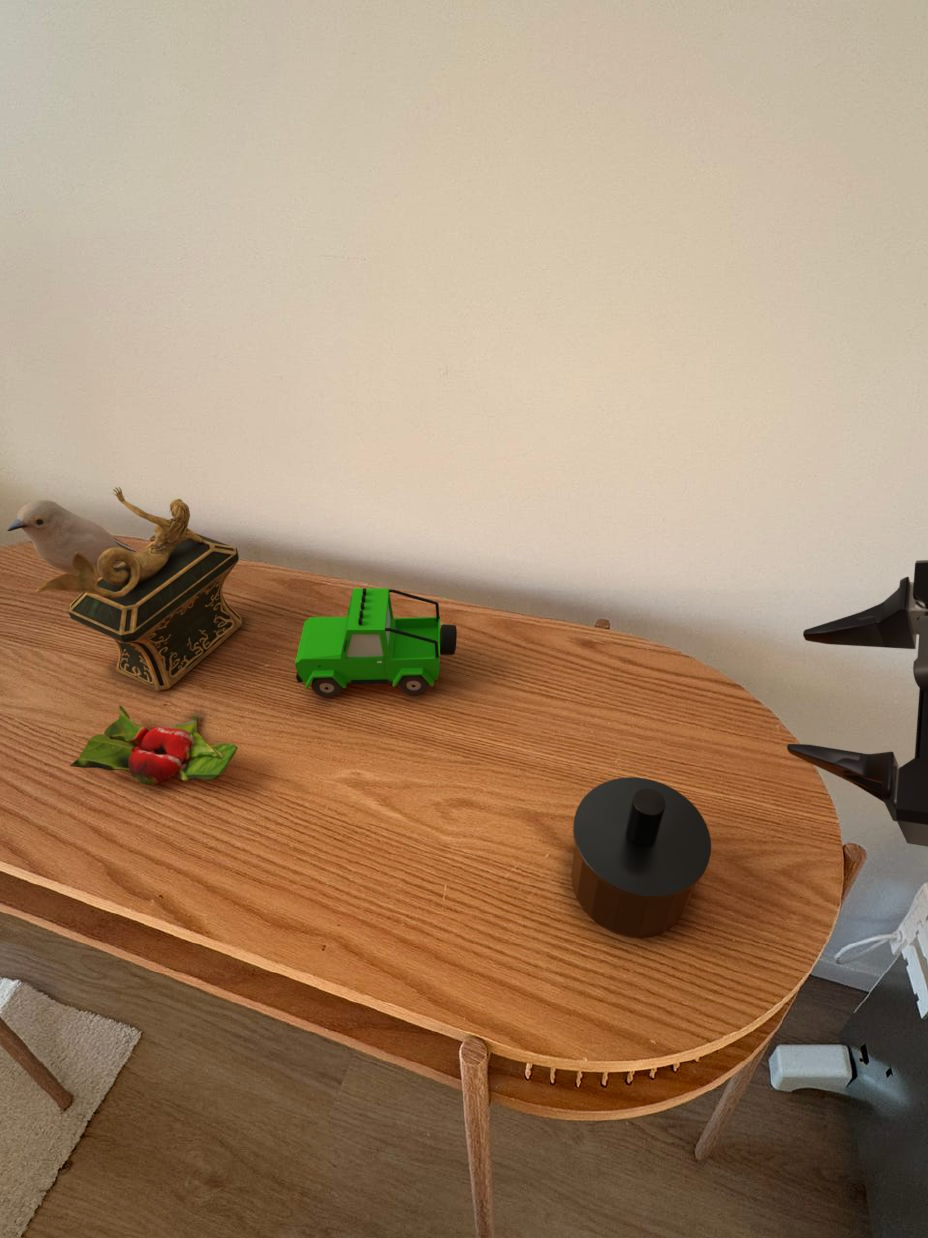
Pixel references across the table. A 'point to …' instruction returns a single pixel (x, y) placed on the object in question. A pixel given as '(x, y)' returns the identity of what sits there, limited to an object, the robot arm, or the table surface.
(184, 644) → the decorative box
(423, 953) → the table surface
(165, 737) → the decorative ornament
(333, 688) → the toy car
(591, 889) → the pot
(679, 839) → the lid
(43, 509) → the bird
